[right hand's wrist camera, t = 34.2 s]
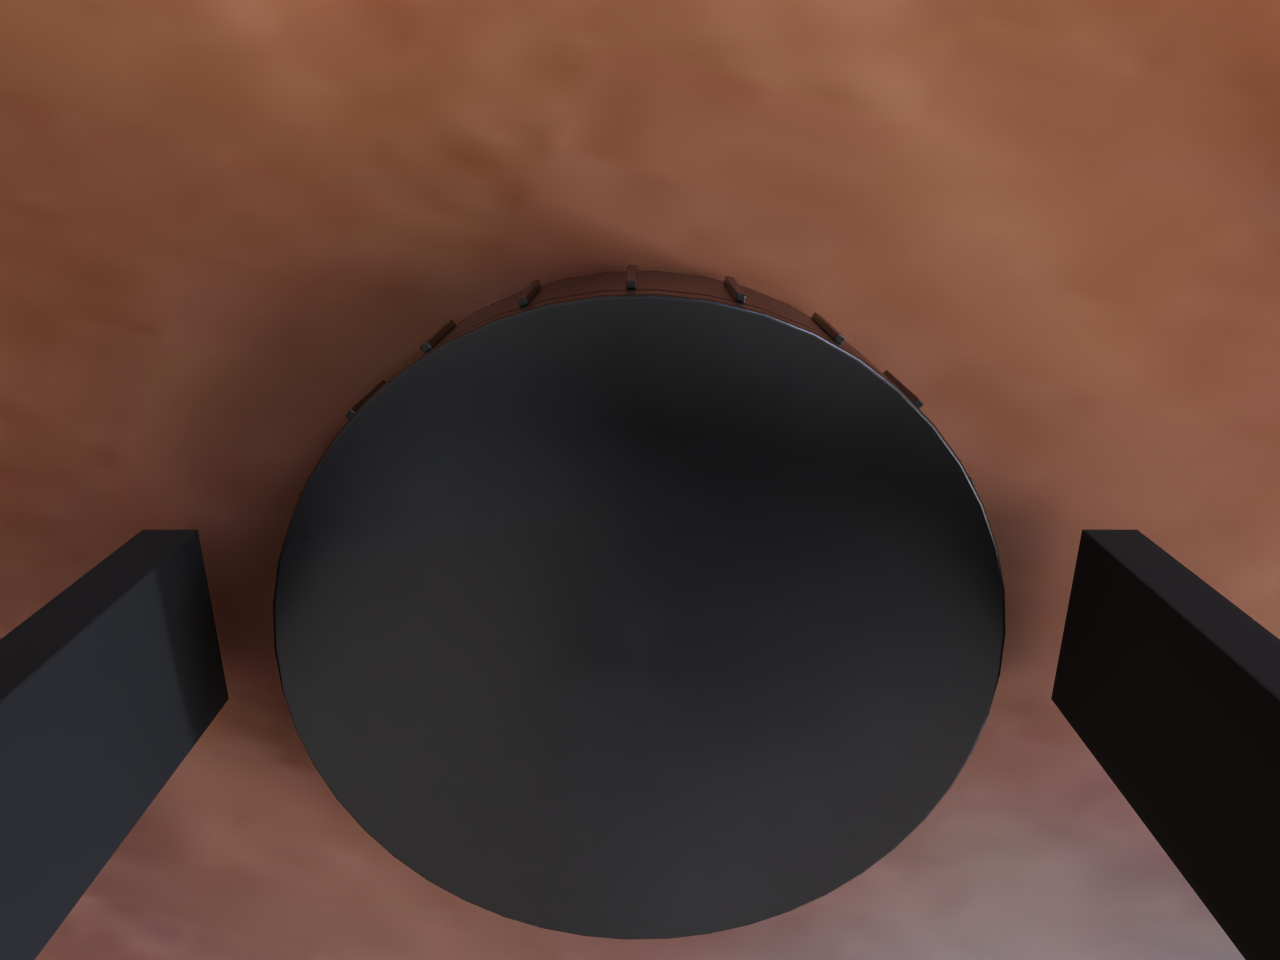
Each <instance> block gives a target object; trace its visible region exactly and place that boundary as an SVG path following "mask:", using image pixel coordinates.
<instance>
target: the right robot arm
mask: <svg viewBox="0 0 1280 960" xmlns="http://www.w3.org/2000/svg"><path fill="white" fill-rule="evenodd" d="M228 699H229V698H228V693H227V687H226V682H225V676H224V671H223V665H222V660H221V655H220V649H219V644H218V638H217V633H216V627H215V622H214V616H213V611H212V605H211V600H210V594H209V589H208V584H207V578H206V573H205V567H204V562H203V556H202V551H201V545H200V540H199V534H198V530H142V531H141V532H139V533H138V534H137V535H136V536H134V537H133V538H132V539H130V540H129V541H128V542H126V543H125V544H124V545H123V546H121V547H120V548H119V549H117V550H116V551H115V552H114V553H112V554H111V555H110V556H108V557H107V558H106V559H104V560H103V561H102V562H101V563H99V564H98V565H97V566H95V567H94V568H93V569H91V570H90V571H89V572H88V573H86V574H85V575H84V576H82V577H81V578H80V579H78V580H77V581H76V582H75V583H73V584H72V585H71V586H69V587H68V588H67V589H66V590H64V591H63V592H62V593H60V594H59V595H58V596H56V597H55V598H54V599H53V600H51V601H50V602H49V603H47V604H46V605H45V606H43V607H42V608H41V609H40V610H38V611H37V612H36V613H34V614H33V615H32V616H31V617H29V618H28V619H27V620H25V621H24V622H23V623H21V624H20V625H19V626H18V627H16V628H15V629H14V630H12V631H11V632H10V633H8V634H7V635H6V636H5V637H3V638H2V639H1V640H0V960H35V958H36V957H37V955H38V954H39V953H40V951H41V950H42V949H43V947H44V946H45V945H46V943H47V942H48V941H49V939H50V938H51V937H52V935H53V934H54V933H55V931H56V930H57V929H58V927H59V926H60V925H61V923H62V922H63V921H64V919H65V918H66V917H67V915H68V914H69V913H70V911H71V910H72V908H73V907H74V906H75V904H76V903H77V902H78V900H79V899H80V898H81V896H82V895H83V894H84V892H85V891H86V890H87V888H88V887H89V886H90V884H91V883H92V882H93V880H94V879H95V878H96V876H97V875H98V874H99V872H100V871H101V870H102V868H103V867H104V866H105V864H106V863H107V861H108V860H109V859H110V857H111V856H112V855H113V853H114V852H115V851H116V849H117V848H118V847H119V845H120V844H121V843H122V841H123V840H124V839H125V837H126V836H127V835H128V833H129V832H130V831H131V829H132V828H133V827H134V825H135V824H136V823H137V821H138V820H139V818H140V817H141V816H142V814H143V813H144V812H145V810H146V809H147V808H148V806H149V805H150V804H151V802H152V801H153V800H154V798H155V797H156V796H157V794H158V793H159V792H160V790H161V789H162V788H163V786H164V785H165V784H166V782H167V781H168V780H169V778H170V777H171V776H172V774H173V773H174V771H175V770H176V769H177V767H178V766H179V765H180V763H181V762H182V761H183V759H184V758H185V757H186V755H187V754H188V753H189V751H190V750H191V749H192V747H193V746H194V745H195V743H196V742H197V741H198V739H199V738H200V737H201V735H202V734H203V733H204V731H205V730H206V729H207V727H208V726H209V724H210V723H211V722H212V720H213V719H214V718H215V716H216V715H217V714H218V712H219V711H220V710H221V708H222V707H223V706H224V704H225V703H226V702H227V700H228ZM1051 699H1052V700H1053V702H1054V703H1055V704H1056V706H1057V707H1058V708H1059V710H1060V711H1061V712H1062V714H1063V715H1064V716H1065V718H1066V719H1067V720H1068V722H1069V723H1070V724H1071V726H1072V727H1073V729H1074V730H1075V731H1076V733H1077V734H1078V735H1079V737H1080V738H1081V739H1082V741H1083V742H1084V743H1085V745H1086V746H1087V747H1088V749H1089V750H1090V751H1091V753H1092V754H1093V755H1094V757H1095V758H1096V759H1097V761H1098V762H1099V763H1100V765H1101V766H1102V767H1103V769H1104V770H1105V771H1106V773H1107V774H1108V776H1109V777H1110V778H1111V780H1112V781H1113V782H1114V784H1115V785H1116V786H1117V788H1118V789H1119V790H1120V792H1121V793H1122V794H1123V796H1124V797H1125V798H1126V800H1127V801H1128V802H1129V804H1130V805H1131V806H1132V808H1133V809H1134V810H1135V812H1136V813H1137V814H1138V816H1139V817H1140V818H1141V820H1142V821H1143V823H1144V824H1145V825H1146V827H1147V828H1148V829H1149V831H1150V832H1151V833H1152V835H1153V836H1154V837H1155V839H1156V840H1157V841H1158V843H1159V844H1160V845H1161V847H1162V848H1163V849H1164V851H1165V852H1166V853H1167V855H1168V856H1169V857H1170V859H1171V860H1172V861H1173V863H1174V864H1175V865H1176V867H1177V868H1178V870H1179V871H1180V872H1181V874H1182V875H1183V876H1184V878H1185V879H1186V880H1187V882H1188V883H1189V884H1190V886H1191V887H1192V888H1193V890H1194V891H1195V892H1196V894H1197V895H1198V896H1199V898H1200V899H1201V900H1202V902H1203V903H1204V904H1205V906H1206V907H1207V908H1208V910H1209V911H1210V912H1211V914H1212V915H1213V917H1214V918H1215V919H1216V921H1217V922H1218V923H1219V925H1220V926H1221V927H1222V929H1223V930H1224V931H1225V933H1226V934H1227V935H1228V937H1229V938H1230V939H1231V941H1232V942H1233V943H1234V945H1235V946H1236V947H1237V949H1238V950H1239V951H1240V953H1241V954H1242V955H1243V957H1244V958H1245V959H1246V960H1280V640H1279V639H1278V638H1277V637H1275V636H1274V635H1273V634H1272V633H1270V632H1269V631H1268V630H1266V629H1265V628H1264V627H1262V626H1261V625H1260V624H1259V623H1257V622H1256V621H1255V620H1253V619H1252V618H1251V617H1249V616H1248V615H1247V614H1246V613H1244V612H1243V611H1242V610H1240V609H1239V608H1238V607H1237V606H1235V605H1234V604H1233V603H1231V602H1230V601H1229V600H1227V599H1226V598H1225V597H1224V596H1222V595H1221V594H1220V593H1218V592H1217V591H1216V590H1214V589H1213V588H1212V587H1211V586H1209V585H1208V584H1207V583H1205V582H1204V581H1203V580H1202V579H1200V578H1199V577H1198V576H1196V575H1195V574H1194V573H1192V572H1191V571H1190V570H1189V569H1187V568H1186V567H1185V566H1183V565H1182V564H1181V563H1179V562H1178V561H1177V560H1176V559H1174V558H1173V557H1172V556H1170V555H1169V554H1168V553H1167V552H1165V551H1164V550H1163V549H1161V548H1160V547H1159V546H1157V545H1156V544H1155V543H1154V542H1152V541H1151V540H1150V539H1148V538H1147V537H1146V536H1144V535H1143V534H1142V533H1141V532H1139V531H1138V530H1082V534H1081V540H1080V545H1079V551H1078V556H1077V562H1076V567H1075V573H1074V578H1073V584H1072V589H1071V594H1070V600H1069V605H1068V611H1067V616H1066V622H1065V627H1064V633H1063V638H1062V644H1061V649H1060V655H1059V660H1058V666H1057V671H1056V676H1055V682H1054V687H1053V693H1052V698H1051Z"/></svg>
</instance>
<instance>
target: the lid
mask: <svg viewBox="0 0 1280 960" xmlns="http://www.w3.org/2000/svg"><path fill="white" fill-rule="evenodd" d="M844 340H845V337H844V336H842V335H841V334H840V333H839V332H838V331H837V330H836V329H835V328H834V327H833V326H831V325H830V324H829V323H828V322H827V321H826V320H825V319H824V318H823V317H822V316H820V315H819V314H817V313H814V314H813V316H812V318H811V317H809V316H807V315H805V314H804V313H802V312H800V311H798V310H796V309H795V308H793V307H791V306H789V305H788V304H786V303H783V302H781V301H778V300H776V299H773V298H771V297H768V296H766V295H763V294H761V293H758V292H756V291H753V290H750V289H748V288H745V287H742V286H739V285H738V284H737V282H736V281H735V279H734V278H732V277H728V276H726V277H725V280H724V282H722V281H718V280H714V279H710V278H706V277H702V276H695V275H686V274H677V273H667V272H658V271H636V265H628V270H627V272H606V273H599V274H593V275H587V276H580V277H574V278H568V279H562V280H559V281H555V282H552V283H549V284H545V285H542V286H541V284H540V281H539V280H536V281H533V282H531V283H530V285H529V286H528V287H527V288H526V289H525V291H522V292H519V293H517V294H514V295H512V296H510V297H508V298H506V299H503V300H501V301H499V302H497V303H495V304H492V305H490V306H488V307H486V308H484V309H481V310H479V311H477V312H476V313H474V314H473V315H471V316H469V317H468V318H466V319H465V320H463V321H462V322H460V323H458V324H457V325H455V323H454V322H453V320H451V321H449V322H448V323H446V324H445V325H444V326H443V327H442V328H440V329H439V330H438V331H437V332H436V333H435V334H434V335H433V336H431V337H430V338H429V339H428V340H427V341H426V342H425V343H424V344H422V345H421V346H420V347H421V349H422V351H421V352H420V353H419V354H418V355H416V356H415V357H414V358H413V359H412V360H410V361H409V362H408V363H407V364H406V365H405V366H404V367H403V368H402V369H400V370H399V371H398V372H397V373H396V374H395V375H394V376H393V377H392V378H391V379H390V380H388V381H387V382H385V381H384V380H383V381H382V382H381V383H379V384H378V385H377V386H376V387H375V388H374V389H373V390H372V391H371V392H369V393H368V394H367V395H366V396H365V397H364V398H363V399H362V400H360V401H359V402H358V403H357V404H356V405H355V406H354V407H353V408H352V409H350V411H349V412H348V413H347V414H346V417H348V418H349V419H350V420H349V421H348V422H347V423H346V424H345V426H344V427H343V428H342V429H341V430H340V431H339V432H338V434H337V435H336V436H335V437H334V438H333V440H332V441H331V443H330V445H329V446H328V448H327V449H326V451H325V452H324V454H323V455H322V457H321V459H320V460H319V462H318V463H317V465H316V466H315V468H314V469H313V471H312V472H311V474H310V476H309V477H308V480H307V482H306V484H305V486H304V488H303V490H302V491H301V493H300V495H299V500H298V502H297V504H296V506H295V508H294V511H293V513H292V515H291V517H290V520H289V524H288V528H287V531H286V535H285V538H284V542H283V546H282V549H281V553H280V556H279V560H278V567H277V576H276V584H275V593H274V601H273V615H274V645H275V652H276V658H277V663H278V669H279V674H280V680H281V685H282V690H283V693H284V696H285V699H286V702H287V705H288V708H289V711H290V714H291V717H292V720H293V723H294V726H295V728H296V730H297V732H298V734H299V736H300V738H301V740H302V742H303V744H304V746H305V748H306V750H307V752H308V754H309V756H310V758H311V760H312V762H313V764H314V766H315V768H316V769H317V770H318V772H319V773H320V775H321V776H322V778H323V779H324V781H325V782H326V784H327V785H328V787H329V788H330V790H331V791H332V793H333V794H334V796H335V797H336V799H337V800H338V801H339V802H340V803H341V804H342V805H343V807H344V808H345V809H346V810H347V811H348V812H349V813H350V815H351V816H352V817H353V818H354V819H355V820H356V821H357V822H358V824H359V825H360V826H361V827H362V828H363V829H364V830H365V831H366V832H367V833H368V834H369V835H370V836H372V837H373V838H374V839H375V840H376V841H377V842H378V843H379V844H381V845H382V846H383V847H384V848H385V849H386V850H387V851H388V852H389V853H391V854H392V855H393V856H394V857H395V858H397V859H398V860H400V861H401V862H402V863H404V864H405V865H407V866H408V867H410V868H411V869H412V870H414V871H415V872H417V873H418V874H419V875H421V876H422V877H424V878H425V879H427V880H428V881H430V882H432V883H433V884H435V885H437V886H439V887H441V888H443V889H444V890H446V891H448V892H450V893H452V894H454V895H455V896H457V897H459V898H461V899H463V900H465V901H467V902H469V903H472V904H474V905H477V906H479V907H481V908H484V909H486V910H489V911H491V912H494V913H496V914H498V915H501V916H503V917H507V918H510V919H513V920H517V921H520V922H524V923H527V924H530V925H534V926H537V927H541V928H545V929H550V930H555V931H561V932H566V933H571V934H577V935H582V936H592V937H604V938H616V939H668V938H677V937H685V936H694V935H702V934H710V933H714V932H719V931H723V930H728V929H732V928H737V927H741V926H746V925H750V924H753V923H756V922H759V921H762V920H765V919H768V918H771V917H774V916H777V915H780V914H783V913H786V912H789V911H791V910H793V909H795V908H798V907H800V906H802V905H804V904H806V903H809V902H811V901H813V900H815V899H817V898H820V897H822V896H824V895H826V894H828V893H830V892H831V891H833V890H835V889H836V888H838V887H840V886H841V885H843V884H845V883H846V882H848V881H850V880H851V879H853V878H855V877H856V876H858V875H860V874H861V873H863V872H864V871H866V870H867V869H868V868H870V867H871V866H872V865H873V864H875V863H876V862H877V861H879V860H880V859H881V858H883V857H884V856H885V855H887V854H888V853H889V852H891V851H892V850H893V849H894V848H896V847H897V846H898V845H899V844H900V843H901V842H902V841H903V840H904V839H905V838H906V837H907V836H908V835H909V834H910V833H911V832H912V831H913V830H914V829H915V828H916V827H917V826H918V825H919V824H920V823H921V822H922V821H924V820H925V818H926V817H927V816H928V815H929V813H930V812H931V811H932V810H933V808H934V807H935V806H936V805H937V803H938V802H939V801H940V800H941V798H942V797H943V796H944V795H945V794H946V792H947V791H948V790H949V789H950V787H951V786H952V784H953V782H954V781H955V779H956V777H957V776H958V774H959V773H960V771H961V769H962V768H963V766H964V764H965V763H966V761H967V760H968V758H969V756H970V755H971V753H972V751H973V749H974V746H975V744H976V742H977V740H978V737H979V735H980V733H981V731H982V728H983V726H984V724H985V721H986V719H987V717H988V715H989V711H990V707H991V704H992V700H993V697H994V693H995V690H996V686H997V683H998V679H999V675H1000V669H1001V661H1002V653H1003V646H1004V638H1005V595H1004V584H1003V578H1002V572H1001V567H1000V561H999V555H998V549H997V545H996V542H995V539H994V536H993V533H992V530H991V527H990V524H989V521H988V518H987V515H986V512H985V509H984V506H983V503H982V501H981V499H980V497H979V496H978V494H977V492H976V490H975V488H974V486H975V484H974V482H973V480H972V478H971V477H970V476H968V474H967V472H966V470H965V468H964V466H963V464H962V463H961V461H960V460H959V458H958V457H957V456H956V454H955V453H954V451H953V450H952V449H951V447H950V446H949V445H948V443H947V442H946V440H945V439H944V438H943V436H942V435H941V433H940V432H939V431H938V429H937V428H936V427H935V425H934V424H933V423H932V422H931V421H930V420H929V419H928V418H927V417H926V416H925V415H924V414H923V413H922V412H921V411H920V410H919V408H920V407H921V406H923V403H922V402H921V401H920V400H919V398H917V397H916V396H915V395H914V394H913V393H912V392H911V391H910V390H908V389H907V388H906V387H905V386H904V385H903V384H902V383H901V382H899V381H898V380H897V379H896V378H895V377H894V376H893V375H892V374H890V373H889V372H888V371H887V370H886V371H885V372H884V373H882V372H881V371H879V370H878V369H877V368H876V367H875V366H874V365H873V364H872V363H871V362H870V361H869V360H867V359H866V358H865V357H864V356H863V355H862V354H861V353H860V352H859V351H857V350H856V349H855V348H853V347H852V346H851V345H850V344H848V343H847V342H846V341H844Z"/></svg>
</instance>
